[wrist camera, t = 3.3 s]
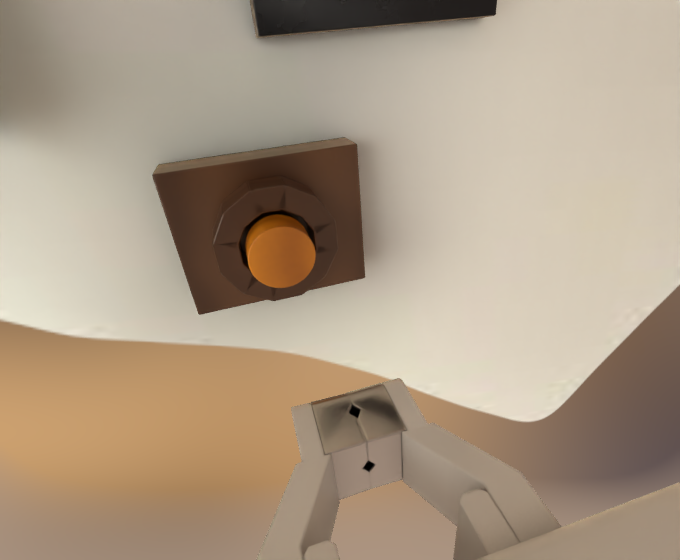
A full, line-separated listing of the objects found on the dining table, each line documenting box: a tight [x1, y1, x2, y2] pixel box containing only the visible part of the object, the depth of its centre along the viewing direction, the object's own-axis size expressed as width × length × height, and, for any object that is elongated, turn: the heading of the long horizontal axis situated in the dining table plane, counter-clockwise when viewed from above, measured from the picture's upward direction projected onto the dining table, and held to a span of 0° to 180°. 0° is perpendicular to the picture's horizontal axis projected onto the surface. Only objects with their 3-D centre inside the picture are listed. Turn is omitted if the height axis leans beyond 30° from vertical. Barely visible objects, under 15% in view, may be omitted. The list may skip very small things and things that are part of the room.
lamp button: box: [245, 214, 316, 288], centre depth 19 cm, size 3×3×2 cm
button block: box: [153, 137, 365, 314], centre depth 21 cm, size 10×8×4 cm
